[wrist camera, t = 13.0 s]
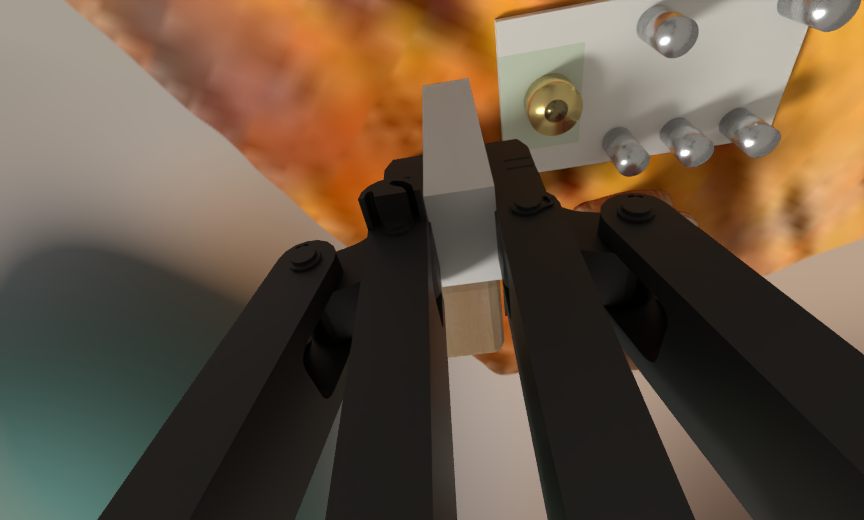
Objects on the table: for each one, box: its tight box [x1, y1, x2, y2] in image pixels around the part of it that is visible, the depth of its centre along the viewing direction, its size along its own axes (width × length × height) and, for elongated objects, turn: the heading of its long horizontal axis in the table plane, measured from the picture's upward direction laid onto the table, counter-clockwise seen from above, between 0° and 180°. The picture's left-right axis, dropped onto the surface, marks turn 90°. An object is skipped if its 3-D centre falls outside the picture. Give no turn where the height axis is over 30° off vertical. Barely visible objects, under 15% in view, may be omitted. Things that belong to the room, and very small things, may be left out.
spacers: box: [602, 0, 861, 177], centre depth 40 cm, size 14×17×5 cm
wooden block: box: [441, 280, 504, 357], centre depth 44 cm, size 10×10×20 cm
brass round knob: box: [524, 73, 583, 136], centre depth 42 cm, size 5×5×3 cm
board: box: [494, 0, 808, 172], centre depth 42 cm, size 16×28×1 cm, turn 99°
